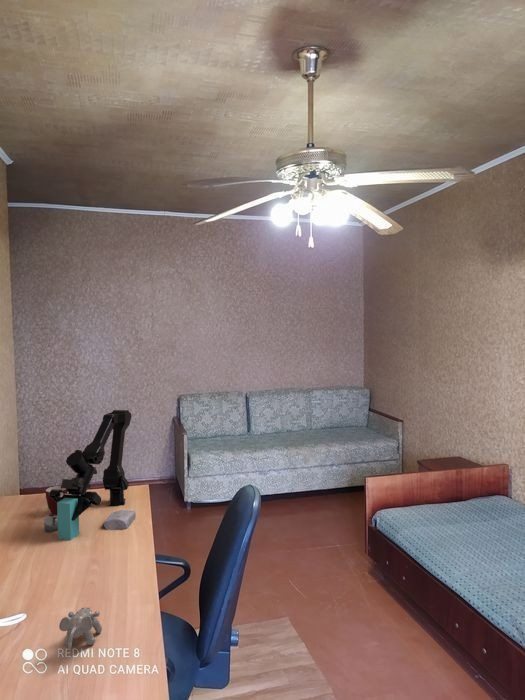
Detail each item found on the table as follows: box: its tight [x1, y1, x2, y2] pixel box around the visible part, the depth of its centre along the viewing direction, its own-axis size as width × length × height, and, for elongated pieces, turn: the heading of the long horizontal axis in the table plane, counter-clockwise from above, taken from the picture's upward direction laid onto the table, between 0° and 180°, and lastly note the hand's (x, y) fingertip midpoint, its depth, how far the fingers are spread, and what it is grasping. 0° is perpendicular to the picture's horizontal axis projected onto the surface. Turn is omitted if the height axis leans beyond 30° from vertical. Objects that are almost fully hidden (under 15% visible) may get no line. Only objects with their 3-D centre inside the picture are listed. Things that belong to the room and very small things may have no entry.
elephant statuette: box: [58, 606, 103, 650], centre depth 116 cm, size 9×12×8 cm
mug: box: [45, 485, 69, 514], centre depth 199 cm, size 10×8×10 cm
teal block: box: [57, 498, 80, 541], centre depth 176 cm, size 5×5×13 cm
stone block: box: [103, 509, 137, 531], centre depth 187 cm, size 12×5×10 cm
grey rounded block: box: [43, 513, 58, 534], centre depth 182 cm, size 5×5×5 cm
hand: (65, 519), depth 175 cm, fingers closed on teal block, 5 cm apart
